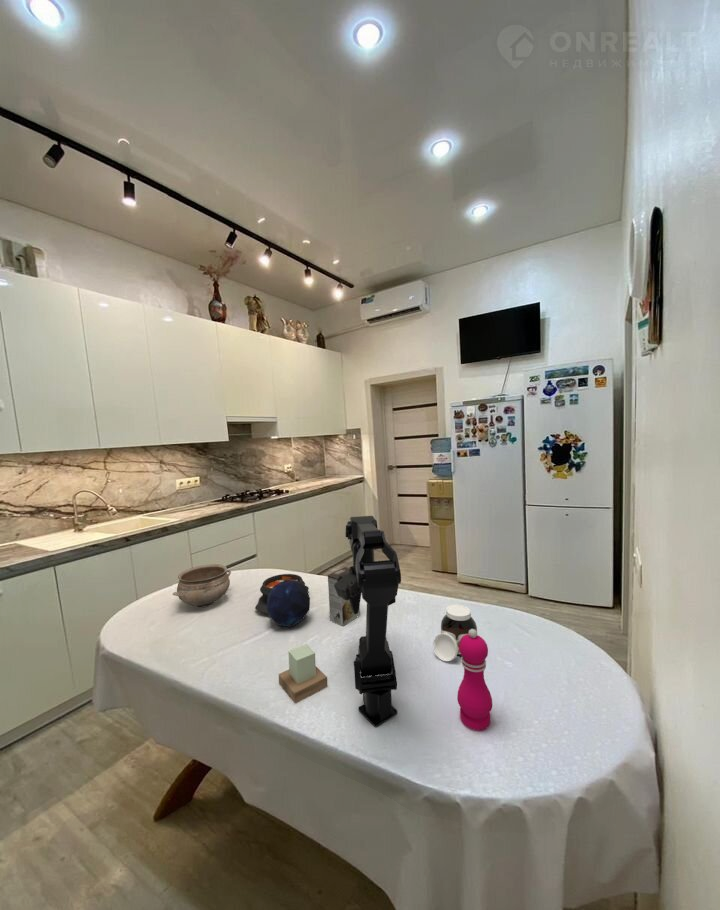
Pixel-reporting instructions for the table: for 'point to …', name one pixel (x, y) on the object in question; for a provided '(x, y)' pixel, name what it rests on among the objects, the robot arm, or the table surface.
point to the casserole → (269, 585)
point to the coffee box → (339, 601)
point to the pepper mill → (474, 683)
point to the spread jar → (453, 632)
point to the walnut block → (302, 685)
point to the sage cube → (302, 663)
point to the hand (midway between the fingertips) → (366, 620)
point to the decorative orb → (288, 602)
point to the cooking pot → (203, 584)
